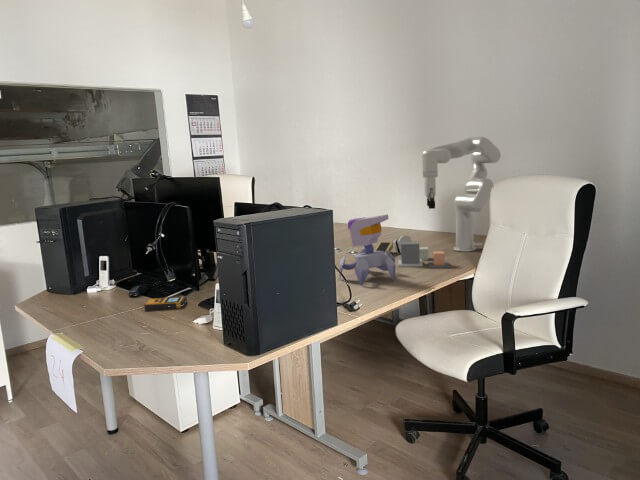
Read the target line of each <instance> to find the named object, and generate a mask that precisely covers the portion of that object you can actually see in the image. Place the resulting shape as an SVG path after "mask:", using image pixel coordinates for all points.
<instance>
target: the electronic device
mask: <svg viewBox="0 0 640 480" xmlns="http://www.w3.org/2000/svg"><path fill="white" fill-rule="evenodd" d="M187 300H188V299H187V296H179V297H178V296H176V297H173V296H172V297H161V298H160V297H159V298H150V299H149V300H147V301H146V302H145V304H144V310H145V311H157V310H158V311H159V310H168V309H169V310H171V309H172V310H173V309H183V308H184V307H185V306H186V305H187V303H188V301H187ZM185 301H186V302H185ZM183 304H184V305H183ZM177 305H183V306H177ZM168 306H170V307H168Z"/></svg>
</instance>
